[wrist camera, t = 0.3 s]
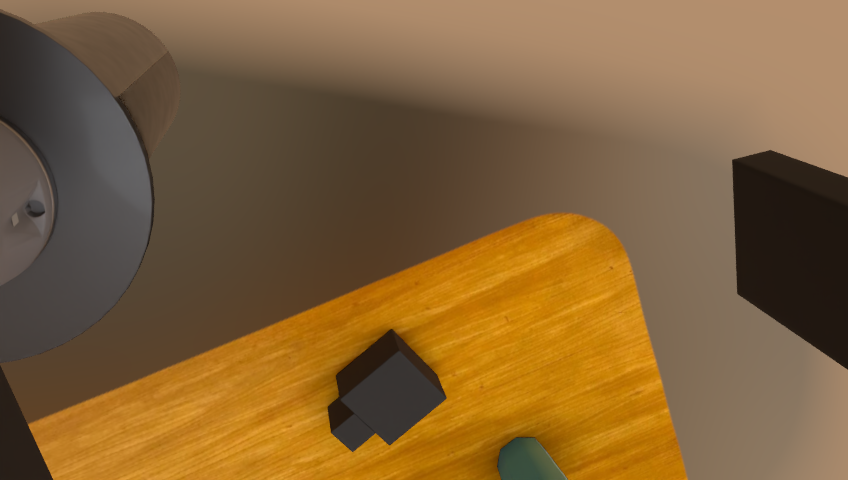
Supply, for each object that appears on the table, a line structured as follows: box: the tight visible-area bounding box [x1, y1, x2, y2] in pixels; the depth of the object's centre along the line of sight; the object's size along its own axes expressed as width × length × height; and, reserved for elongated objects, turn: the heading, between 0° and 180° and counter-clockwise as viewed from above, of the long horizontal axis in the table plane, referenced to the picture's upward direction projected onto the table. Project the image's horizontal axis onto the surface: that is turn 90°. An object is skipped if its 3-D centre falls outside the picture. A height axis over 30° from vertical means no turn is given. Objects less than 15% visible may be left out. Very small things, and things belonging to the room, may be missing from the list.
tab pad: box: [328, 329, 446, 452], centre depth 70 cm, size 7×10×4 cm
